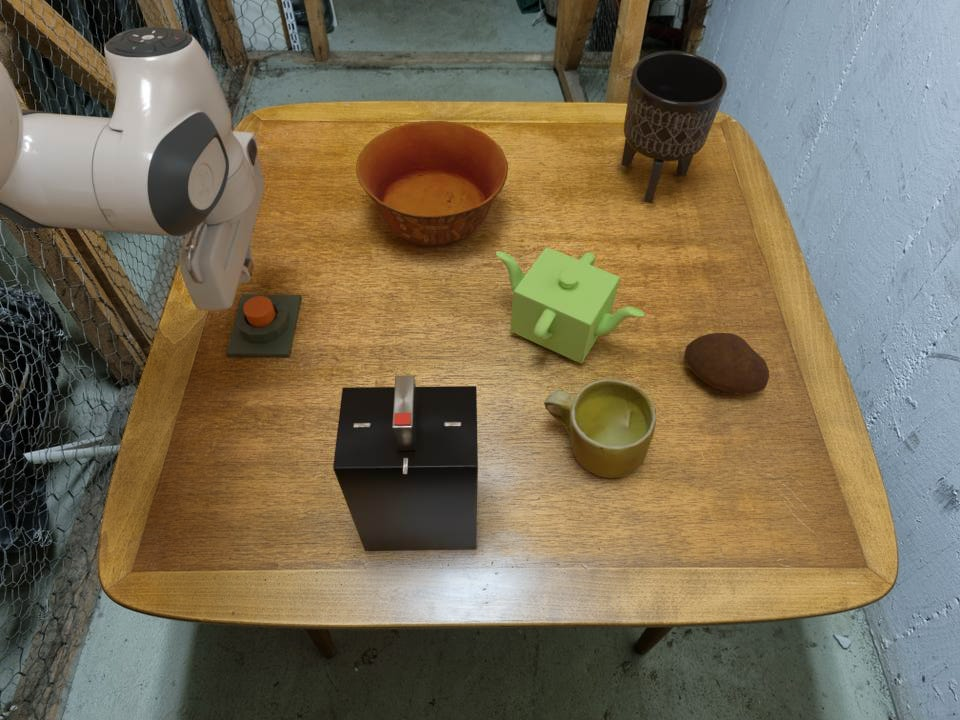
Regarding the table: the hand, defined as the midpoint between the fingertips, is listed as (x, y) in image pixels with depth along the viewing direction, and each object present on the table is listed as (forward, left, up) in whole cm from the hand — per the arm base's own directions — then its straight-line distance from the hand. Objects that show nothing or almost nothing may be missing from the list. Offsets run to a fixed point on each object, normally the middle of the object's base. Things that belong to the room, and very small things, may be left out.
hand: (246, 273), depth 81 cm
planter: (+59, -23, -10) cm, 64 cm away
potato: (+32, -50, -10) cm, 60 cm away
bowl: (+30, -3, -10) cm, 32 cm away
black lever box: (-6, -34, -10) cm, 36 cm away
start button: (0, 0, -8) cm, 8 cm away
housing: (0, 0, -10) cm, 10 cm away
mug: (+14, -43, -10) cm, 46 cm away
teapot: (+25, -30, -10) cm, 40 cm away
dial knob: (-6, -34, +10) cm, 36 cm away
